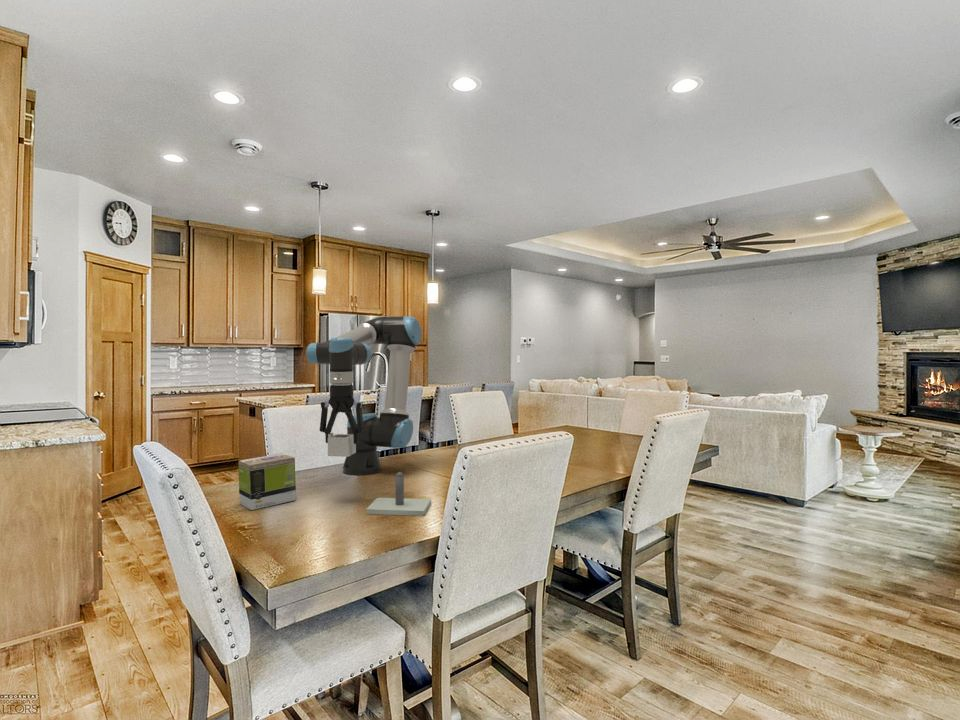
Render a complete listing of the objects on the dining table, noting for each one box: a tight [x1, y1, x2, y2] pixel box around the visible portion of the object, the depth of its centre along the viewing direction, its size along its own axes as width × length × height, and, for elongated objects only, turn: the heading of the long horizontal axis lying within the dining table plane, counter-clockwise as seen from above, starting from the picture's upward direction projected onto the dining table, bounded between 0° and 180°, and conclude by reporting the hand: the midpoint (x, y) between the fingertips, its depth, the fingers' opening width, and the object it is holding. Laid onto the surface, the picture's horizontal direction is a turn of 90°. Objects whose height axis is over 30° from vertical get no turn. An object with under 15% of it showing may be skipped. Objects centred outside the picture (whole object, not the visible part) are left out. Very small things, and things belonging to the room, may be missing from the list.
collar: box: [327, 433, 352, 458], centre depth 173 cm, size 7×7×6 cm
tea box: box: [238, 452, 297, 511], centre depth 171 cm, size 15×10×15 cm
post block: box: [365, 471, 432, 517], centre depth 165 cm, size 12×18×12 cm, turn 85°
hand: (342, 452), depth 173 cm, fingers closed on collar, 7 cm apart
